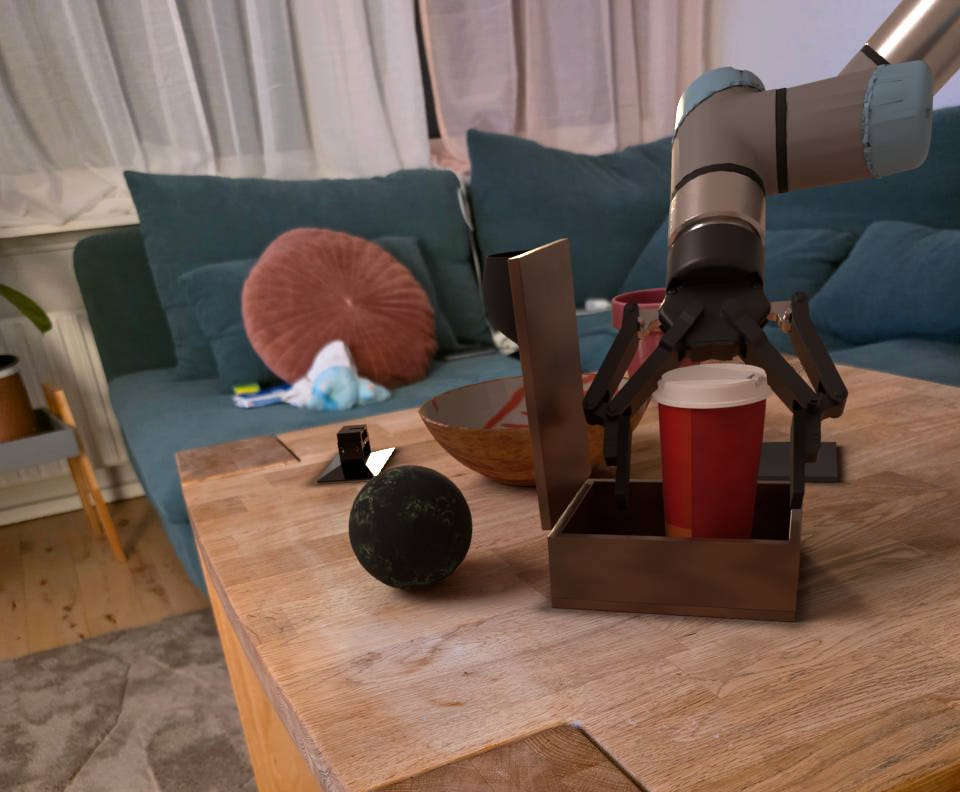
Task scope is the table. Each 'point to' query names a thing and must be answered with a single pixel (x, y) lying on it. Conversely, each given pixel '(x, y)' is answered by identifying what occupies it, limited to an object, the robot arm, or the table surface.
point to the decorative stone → (410, 527)
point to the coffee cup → (711, 448)
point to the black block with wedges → (355, 457)
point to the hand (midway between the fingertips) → (707, 502)
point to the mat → (778, 463)
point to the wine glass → (500, 293)
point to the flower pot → (647, 346)
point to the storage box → (673, 557)
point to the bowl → (498, 428)
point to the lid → (551, 375)
